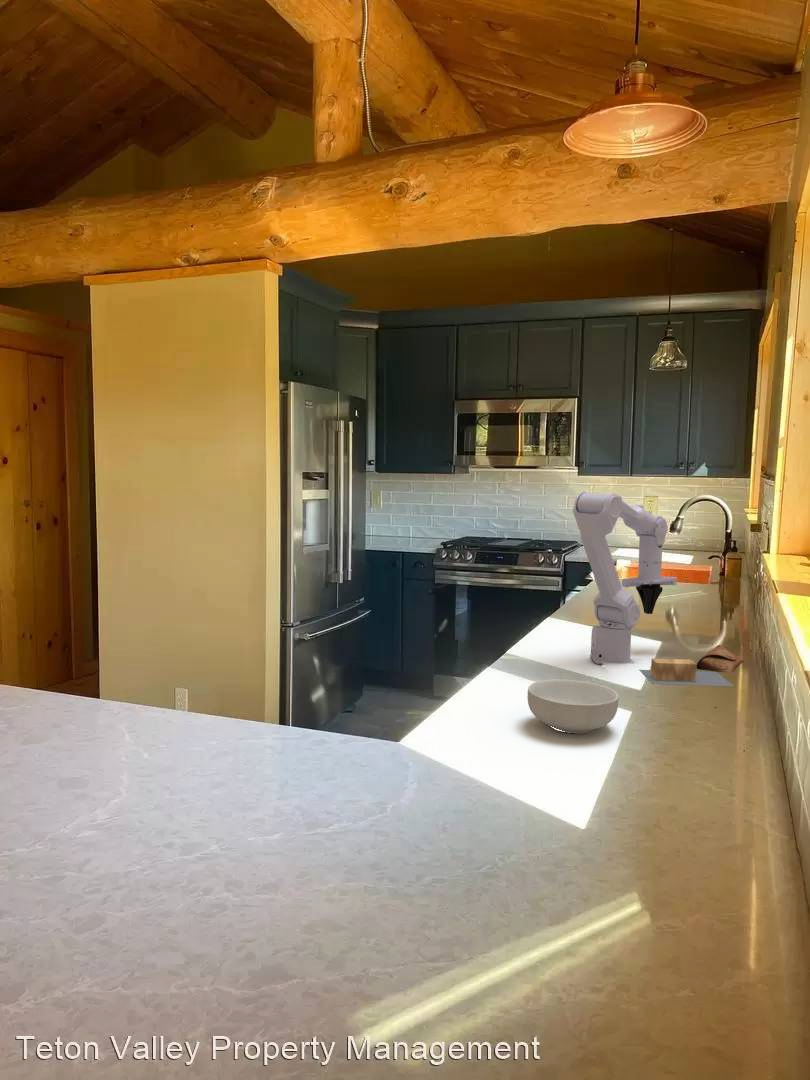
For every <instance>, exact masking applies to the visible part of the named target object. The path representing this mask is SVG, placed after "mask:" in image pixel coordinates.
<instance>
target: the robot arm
mask: <svg viewBox="0 0 810 1080" xmlns="http://www.w3.org/2000/svg"><path fill="white" fill-rule="evenodd" d="M574 500H575V501H574V504H573V508H572V513H573V515H574V519H575V522H576V524H577V528H578V529H579V532H580V533H579V534H580V539H581V543H582V546H583V548H584V551H585V555H586V556H587V557H586V558H587V560H588V562H589V565H590V568H591V572H592V575H593V577H594V581H595V582H596V586H597V590H598V593H597V594H596V595H595V597H594V599H593V602H592V603H593V605H594V616H595V618H596V620H597V621H598V625H593V626H592V628H591V629H592V630H591V637H590V638H591V639H590V655H589V657H590V658H591V659H592V660H593V661H594V663H595V664H596V665H604V664H605V663H606V664H635V662H634V661H633V660H632V659H631V648H632V647H631V645H632V643H631V642H632V628H635V626H636V625H637V623H638V622H639V620H640V616H641V609H640V606H639V604H638V603H637V602H636V601H635V599H634V596H633V595H632V594H630V593H629V592H628V591H626V590H625V589H624V588H629V587H630V588H631V587H635V589H636V591H637V593H638V595H639V598H640V601H641V604H642V608H643V613H644V614H646V615H653V612H654V610H655V607H656V604H657V600H658V599H659V597H660V595H661V594H662V592H663V586H677V584H678V583H677V579H678V578H677V577H673V576H662V566H663V565H662V563H663V562H662V561H663V545H664V544H665V542H666V535H667V533H668V529H669V526H668V522H667V520H666V519H665V518H664V517H663V516H659V515H654V514H653V511H650V510H646V509H644V506H643V505H642V504H635V505H630V504H628V503H627V502H625V501H624V500H623V498H622V496H621V495H618V494H616V493H594V492H593V493H592V492H586V491H582V492H579V493H578V494H577V496H576V498H575V499H574ZM619 518H620V519H622V520H623V523H624V525H625V526H626V527H628V528H630V529H631V530H633V531H634V532H635V534H636V536H637V537H639V539H638V540H639V541H638V542H639V546H638V547H639V548H638V565H637V566H638V568H637V569H638V571H637V576H636V577H629V578H622V579H621V581H620V578H619V575H618V571H617V568H616V565H615V563H614V560H613V557H612V553H611V551H610V548H609V544H608V541H607V539H606V536H607V535H609V534H611V533H612V531H613V530H614V528H615V525H616V523H617V521H618V519H619Z"/></svg>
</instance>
